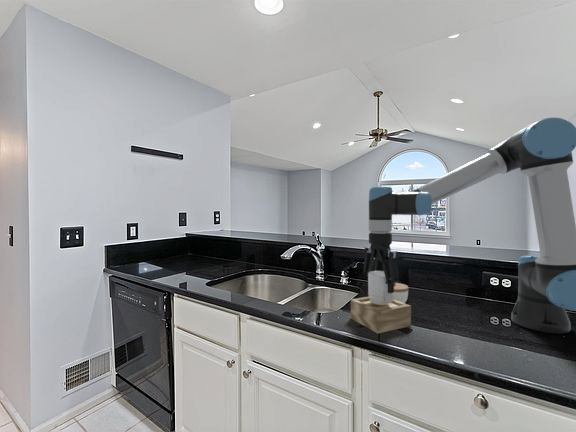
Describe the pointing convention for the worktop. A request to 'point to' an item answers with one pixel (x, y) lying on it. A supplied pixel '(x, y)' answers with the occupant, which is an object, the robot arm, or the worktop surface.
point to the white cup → (377, 287)
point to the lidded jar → (400, 292)
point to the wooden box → (380, 314)
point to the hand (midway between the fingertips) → (380, 298)
